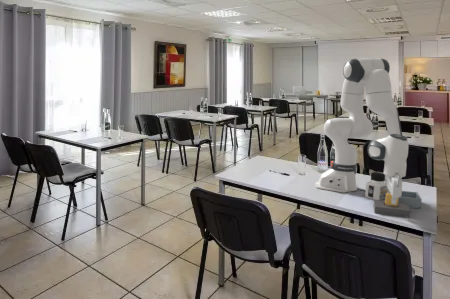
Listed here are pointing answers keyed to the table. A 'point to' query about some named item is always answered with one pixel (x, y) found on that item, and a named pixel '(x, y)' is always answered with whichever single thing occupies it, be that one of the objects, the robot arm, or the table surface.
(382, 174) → the container
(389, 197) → the fuse
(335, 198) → the table surface
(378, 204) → the block
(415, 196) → the parts tray
